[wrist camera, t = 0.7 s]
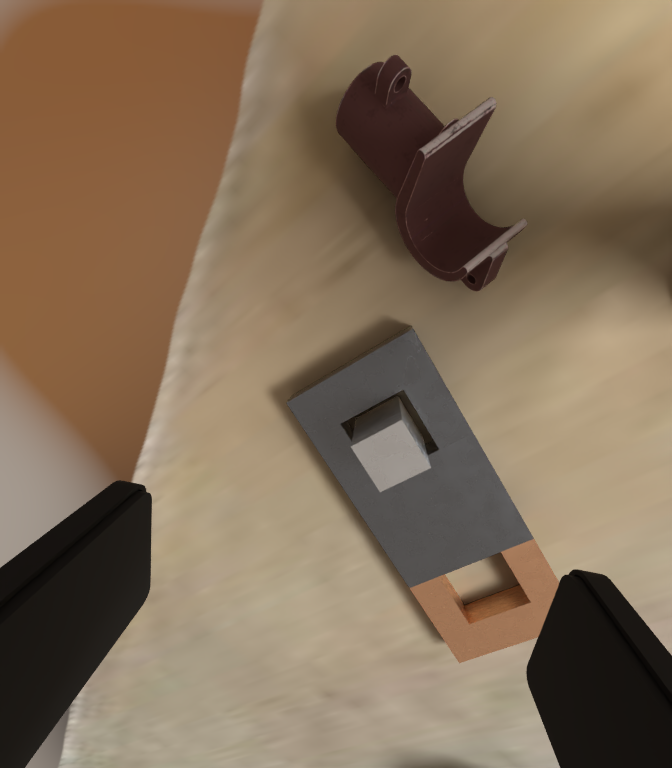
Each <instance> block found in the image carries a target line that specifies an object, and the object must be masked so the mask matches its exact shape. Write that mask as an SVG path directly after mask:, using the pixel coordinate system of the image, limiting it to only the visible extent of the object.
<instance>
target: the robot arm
mask: <svg viewBox="0 0 672 768" xmlns="http://www.w3.org/2000/svg"><path fill="white" fill-rule="evenodd" d="M151 514H152V497H151V494H150V493H147V492H146V488H145V486H143V485H141V484H136V483H131V482H126V481H116V482H114V483H112V484H111V485H110V486H108V487H107V488H106V489H104V490H103V491H102V492H100V493H99V494H98V495H96V496H95V497H94V498H92V499H91V500H90V501H88V502H87V503H86V504H85V505H83V506H82V507H80V508H79V509H78V510H77V511H75V512H74V513H73V514H71V515H70V516H69V517H67V518H66V519H64V520H63V521H62V522H60V523H59V524H58V525H57V526H55V527H54V528H52V529H51V530H50V531H48V532H47V533H46V534H44V535H43V536H42V537H41V538H39V539H38V540H37V541H35V542H34V543H33V544H31V545H30V546H29V547H27V548H26V549H25V550H23V551H22V552H21V553H19V554H18V555H17V556H15V557H14V558H13V559H12V560H10V561H9V562H7V563H6V564H5V565H3V566H2V567H1V568H0V768H25V767H26V765H27V764H28V762H29V761H30V760H31V758H32V757H33V755H34V754H35V753H36V751H37V750H38V749H39V747H40V746H41V745H42V743H43V742H44V740H45V739H46V738H47V736H48V735H49V733H50V732H51V731H52V729H53V728H54V727H55V725H56V724H57V722H58V721H59V719H60V718H61V717H62V716H63V714H64V713H65V711H66V710H67V709H68V707H69V706H70V705H71V703H72V702H73V700H74V699H75V698H76V696H77V695H78V693H79V692H80V691H81V689H82V688H83V687H84V685H85V684H86V682H87V681H88V680H89V678H90V677H91V676H92V674H93V673H94V671H95V670H96V669H97V667H98V666H99V665H100V663H101V662H102V660H103V659H104V658H105V656H106V655H107V653H108V652H109V651H110V649H111V648H112V647H113V645H114V644H115V642H116V641H117V640H118V638H119V637H120V636H121V634H122V633H123V631H124V630H125V629H126V627H127V626H128V625H129V623H130V622H131V620H132V619H133V618H134V616H135V615H136V613H137V612H138V611H139V609H140V608H141V607H142V605H143V604H144V602H145V600H146V598H147V596H148V593H149V590H150V576H151ZM527 681H528V685H529V688H530V691H531V693H532V696H533V698H534V701H535V704H536V706H537V709H538V711H539V714H540V717H541V719H542V722H543V724H544V727H545V729H546V732H547V735H548V737H549V740H550V742H551V745H552V747H553V750H554V753H555V755H556V758H557V760H558V763H559V765H560V768H672V656H671V654H670V653H669V652H668V651H667V649H666V648H665V647H664V646H663V644H662V643H661V642H660V641H659V639H658V638H657V637H656V636H655V635H654V633H653V632H652V631H651V630H650V628H649V627H648V626H647V625H646V623H645V622H644V621H643V620H642V618H641V617H640V616H639V615H638V613H637V612H636V611H635V610H634V608H633V607H632V606H631V605H630V604H629V602H628V601H627V600H626V599H625V597H624V596H623V595H622V594H621V592H620V591H619V590H618V589H617V587H616V586H615V585H614V584H613V582H612V581H611V580H610V579H609V578H608V577H607V576H605V575H602V574H598V573H593V572H587V571H582V570H572V571H571V572H570V573H569V575H564V576H563V577H562V578H561V580H560V583H559V585H558V588H557V591H556V593H555V596H554V598H553V601H552V603H551V606H550V609H549V611H548V614H547V616H546V619H545V621H544V624H543V626H542V629H541V632H540V634H539V637H538V639H537V642H536V644H535V647H534V649H533V652H532V655H531V657H530V660H529V662H528V665H527Z"/></svg>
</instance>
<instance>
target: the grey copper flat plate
mask: <svg viewBox="0 0 672 768" xmlns="http://www.w3.org/2000/svg"><path fill="white" fill-rule="evenodd" d="M402 390H404V391H405V393H406V395H407V396H408V398H409V400H410V401H411V403H412V405H413V406H414V408H415V410H416V411H417V413H418V415H419V416H420V418H421V420H422V421H423V423H424V425H425V426H426V428H427V430H428V431H429V433H430V435H431V436H432V438H433V441H431V442H429V443H427V444H425V447H426V451H427V454H428V458H429V462H430V466H431V468H430V469H428V470H426V471H424V472H422V473H419V474H417V475H415V476H413V477H411V478H409V479H407V480H405V481H403V482H401V483H399V484H396V485H394V486H392V487H390V488H388V489H386V490H384V491H382V492H380V491H379V490H378V488H377V487H376V485H375V484H374V482H373V481H372V479H371V478H370V476H369V474H368V473H367V471H366V470H365V468H364V467H363V465H362V464H361V462H360V460H359V459H358V457H357V456H356V454H355V453H354V451H353V450H352V448H351V442H352V437H353V430H352V429H351V427H350V426H349V424H348V422H347V420H348V419H350V418H352V417H354V416H356V415H358V414H359V413H361V412H363V411H365V410H367V409H369V408H370V407H372V406H374V405H376V404H378V403H380V402H381V401H383V400H385V399H387V398H389V397H391V396H392V395H394V394H396V393H398V392H400V391H402ZM287 405H288V406H289V408H290V409H291V411H292V412H293V414H294V415H295V417H296V418H297V420H298V421H299V423H300V424H301V426H302V427H303V429H304V430H305V432H306V433H307V435H308V436H309V438H310V439H311V441H312V442H313V444H314V445H315V447H316V448H317V450H318V451H319V453H320V454H321V456H322V457H323V459H324V460H325V462H326V463H327V465H328V466H329V468H330V469H331V471H332V472H333V474H334V475H335V477H336V478H337V480H338V481H339V483H340V484H341V486H342V487H343V489H344V491H345V492H346V494H347V495H348V497H349V498H350V500H351V501H352V503H353V504H354V506H355V507H356V509H357V510H358V512H359V513H360V515H361V516H362V518H363V519H364V521H365V522H366V524H367V525H368V527H369V528H370V530H371V531H372V533H373V534H374V536H375V537H376V539H377V540H378V542H379V543H380V545H381V546H382V548H383V549H384V551H385V552H386V554H387V555H388V557H389V558H390V560H391V561H392V563H393V564H394V566H395V567H396V569H397V570H398V572H399V573H400V575H401V576H402V578H403V579H404V581H405V582H406V584H407V585H408V587H409V588H410V590H411V591H412V593H413V594H414V596H415V597H416V599H417V600H418V602H419V603H420V605H421V606H422V608H423V609H424V611H425V612H426V614H427V615H428V617H429V618H430V620H431V621H432V623H433V624H434V626H435V627H436V629H437V630H438V632H439V633H440V635H441V636H442V638H443V639H444V641H445V642H446V644H447V645H448V647H449V648H450V650H451V651H452V653H453V654H454V656H455V657H456V659H457V660H458V662H459V663H461V662H464V661H467V660H470V659H473V658H476V657H479V656H482V655H485V654H488V653H491V652H494V651H497V650H501V649H504V648H507V647H510V646H513V645H516V644H519V643H522V642H525V641H528V640H531V639H534V638H537V637H539V634H540V632H541V629H542V626H543V624H544V621H545V619H546V616H547V614H548V611H549V609H550V606H551V603H552V601H553V598H554V596H555V593H556V591H557V588H558V585H559V582H558V580H557V578H556V576H555V575H554V573H553V571H552V569H551V568H550V566H549V564H548V562H547V561H546V559H545V557H544V555H543V554H542V552H541V550H540V549H539V547H538V545H537V543H536V542H535V540H534V538H533V536H532V535H531V533H530V531H529V529H528V528H527V526H526V524H525V522H524V521H523V519H522V517H521V515H520V514H519V512H518V510H517V508H516V507H515V505H514V503H513V502H512V500H511V498H510V496H509V495H508V493H507V491H506V489H505V488H504V486H503V484H502V482H501V481H500V479H499V477H498V475H497V474H496V472H495V470H494V468H493V467H492V465H491V463H490V462H489V460H488V458H487V456H486V455H485V453H484V451H483V449H482V448H481V446H480V444H479V442H478V441H477V439H476V437H475V435H474V434H473V432H472V430H471V428H470V427H469V425H468V423H467V422H466V420H465V418H464V416H463V415H462V413H461V411H460V409H459V408H458V406H457V404H456V402H455V401H454V399H453V397H452V395H451V394H450V392H449V390H448V388H447V387H446V385H445V383H444V382H443V380H442V378H441V376H440V375H439V373H438V371H437V369H436V368H435V366H434V364H433V362H432V361H431V359H430V357H429V355H428V354H427V352H426V350H425V348H424V347H423V345H422V343H421V341H420V340H419V338H418V336H417V335H416V333H415V331H414V329H413V328H412V326H409V327H408V328H406V329H404V330H403V331H401V332H399V333H397V334H396V335H394V336H392V337H391V338H389V339H387V340H386V341H384V342H382V343H380V344H379V345H377V346H375V347H374V348H372V349H370V350H369V351H367V352H365V353H364V354H362V355H360V356H358V357H357V358H355V359H353V360H352V361H350V362H348V363H347V364H345V365H343V366H341V367H340V368H338V369H336V370H335V371H333V372H331V373H330V374H328V375H326V376H324V377H323V378H321V379H319V380H318V381H316V382H314V383H313V384H311V385H309V386H307V387H306V388H304V389H302V390H301V391H299V392H297V393H296V394H294V395H292V396H291V398H290V399H289V400H288V401H287ZM499 552H501V553H502V555H503V557H504V558H505V560H506V562H507V563H508V565H509V567H510V568H511V570H512V572H513V573H514V575H515V577H516V578H517V580H518V582H519V583H520V585H518V586H515V587H512V588H510V589H507V590H504V591H501V592H499V593H496V594H493V595H491V596H488V597H485V598H483V599H480V600H477V601H474V602H472V603H469V604H466V605H464V604H463V602H462V601H461V599H460V598H459V596H458V594H457V593H456V591H455V590H454V588H453V587H452V585H451V583H450V582H449V580H448V579H447V577H446V576H445V574H447V573H449V572H452V571H454V570H457V569H459V568H462V567H464V566H467V565H469V564H472V563H474V562H477V561H479V560H482V559H484V558H487V557H489V556H492V555H494V554H497V553H499Z"/></svg>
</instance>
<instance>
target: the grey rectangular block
mask: <svg viewBox="0 0 672 768" xmlns="http://www.w3.org/2000/svg"><path fill="white" fill-rule="evenodd" d="M351 448H352V450H353V451H354V453H355V454H356V456H357V457H358V459H359V460H360V462H361V464H362V465H363V467H364V468H365V470H366V471H367V473H368V474H369V476H370V478H371V479H372V481H373V482H374V484H375V485H376V487H377V488H378V490H379V491H380V492H382V491H384V490H386V489H388V488H390V487H392V486H394V485H396V484H399V483H401V482H403V481H405V480H407V479H409V478H411V477H413V476H415V475H417V474H419V473H422V472H424V471H426V470H428V469H430V468H431V466H430V462H429V458H428V454H427V451H426V447H425V443H424V440H423V436H422V434H421V432H420V431H419V429H418V427H417V426H416V424H415V422H414V421H413V419H412V418H411V416H410V414H409V413H408V411H407V409H406V408H405V406H404V404H403V403H402V401H401V399H400V398H399V396H396V397H395V398H393V399H391V400H389V401H387V402H385V403H383V404H382V405H380V406H378V407H376V408H374V409H372V410H371V411H369V412H367V413H365V414H363V415H361V416H360V417H358V418H356V421H355V426H354V432H353V437H352V442H351Z"/></svg>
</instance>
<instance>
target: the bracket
mask: <svg viewBox="0 0 672 768" xmlns="http://www.w3.org/2000/svg"><path fill="white" fill-rule="evenodd" d="M411 73H412V72H411V69H410V68H409V67H408V66H407V65H406V64H405V62H404V61H403V60H402V59H401V58H400V57H399V56H398V55H393V56H391V57H390V58H389V59H388V60H387V61H386V62H385V63H384V62H377V63H374V64H372V65H370V66H368V67H367V68H365V69H364V70H363V71H362V72H361V73H360V74H359V75H358V76H357V77H356V78H355V79H354V80H353V82H352V83H351V84H350V86H349V87H348V89H347V91H346V92H345V94H344V96H343V98H342V100H341V103H340V105H339V108H338V111H337V116H336V128H337V131H338V133H339V134H340V135H341V136H342V137H343V139H344V140H345V141H346V142H347V143H348V144H349V145H350V146H351V148H352V149H353V150H354V151H355V152H356V153H357V154H358V155H359V157H360V158H361V159H362V160H363V161H364V162H365V163H366V164H367V165H368V167H369V168H370V169H371V170H372V171H373V172H374V173H375V174H376V176H377V177H378V178H379V179H380V180H381V181H382V182H383V183H384V184H385V186H386V187H387V188H388V189H389V190H390V191H391V192H392V193H393V195H394V196H395V197H396V198H397V201H396V207H395V213H396V221H397V225H398V229H399V232H400V234H401V237H402V239H403V241H404V243H405V245H406V247H407V248H408V250H409V251H410V253H411V254H412V256H413V257H414V258H415V260H416V261H417V262H418V263H419V264H420V265H421V266H422V267H423V268H424V269H425V270H426V271H428V272H429V273H430V274H432V275H433V276H435V277H437V278H439V279H442V280H445V281H458V280H460V279H461V281H462V282H463V283H464V284H465V285H466V286H467V287H468V288H469V289H471V290H473V291H480V290H482V289H483V288H484V287H485V286H486V285H488V284H489V283H490V282H491V281H492V280H494V279H495V278H496V276H497V273H498V271H499V269H500V266H501V264H502V262H503V259H504V257H505V255H506V253H507V250H508V245H507V242H508V241H509V240H511V239H512V238H513V237H514V236H515V235H517V234H518V233H519V232H520V231H522V230H523V229H524V228H525V227H526V225H527V221H526V220H525V219H521V220H520V221H519V222H518V223H516V224H515V225H513V226H510V227H504V228H502V227H496V226H493V225H490V224H488V223H487V222H485V221H484V220H482V219H481V218H480V217H479V216H478V215H477V214H476V213H475V212H474V210H473V209H472V207H471V206H470V204H469V202H468V200H467V197H466V194H465V191H464V185H463V173H464V168H465V165H466V163H467V161H468V159H469V157H470V155H471V153H472V151H473V150H474V148H475V146H476V144H477V142H478V140H479V138H480V136H481V134H482V132H483V131H484V129H485V127H486V125H487V123H488V121H489V119H490V117H491V115H492V114H493V112H494V110H495V108H496V100H495V99H494V98H493V97H490V98H488V99H487V100H486V101H484V102H483V103H482V104H480V105H479V106H478V107H476V108H475V109H473V110H472V111H471V112H469V113H468V114H467V115H465V116H464V117H463V118H461V119H460V120H458V119H453V120H452V121H450V122H449V123H448V124H447V125H446V126H444V125H443V124H442V123H441V122H440V121H439V120H438V119H437V118H436V117H435V115H434V114H433V113H432V112H431V111H430V110H429V109H428V108H427V107H426V106H425V105H424V104H423V103H422V102H421V100H420V99H419V98H418V97H417V96H416V95H415V94H414V93H413V92H412V91H411V90H410V89H409V88H408V87H409V83H410V79H411Z"/></svg>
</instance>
